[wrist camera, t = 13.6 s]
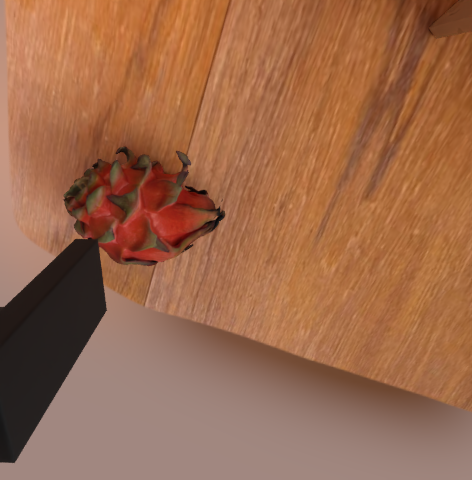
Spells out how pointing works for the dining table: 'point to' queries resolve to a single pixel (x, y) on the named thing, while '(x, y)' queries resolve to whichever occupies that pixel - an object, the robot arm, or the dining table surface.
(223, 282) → the dining table surface
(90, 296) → the robot arm
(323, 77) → the dining table surface
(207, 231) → the dragon fruit
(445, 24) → the cabinet door
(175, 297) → the dining table surface
